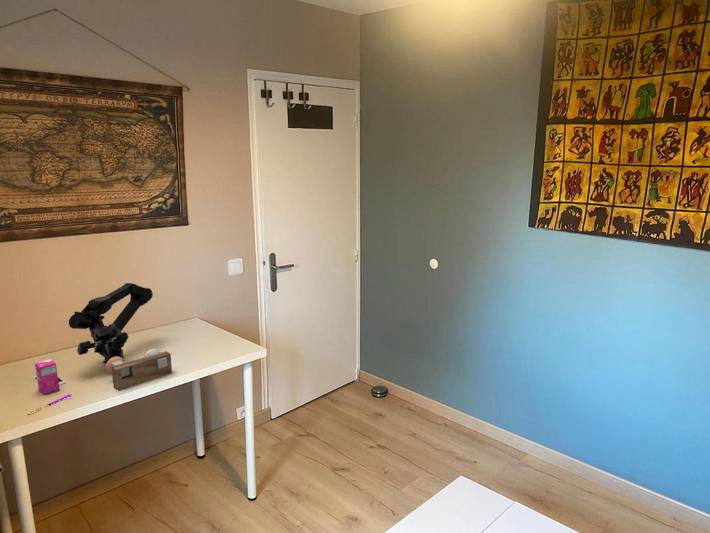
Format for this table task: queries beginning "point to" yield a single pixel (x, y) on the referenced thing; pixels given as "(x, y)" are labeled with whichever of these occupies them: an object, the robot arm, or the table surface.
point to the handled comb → (54, 401)
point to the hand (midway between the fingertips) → (110, 360)
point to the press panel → (140, 371)
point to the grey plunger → (160, 362)
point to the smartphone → (58, 380)
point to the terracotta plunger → (117, 361)
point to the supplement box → (47, 376)
